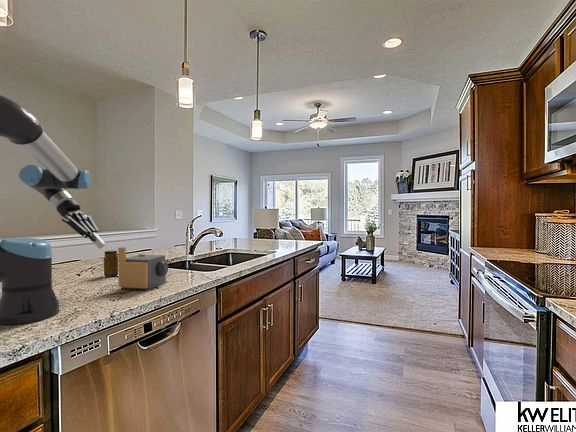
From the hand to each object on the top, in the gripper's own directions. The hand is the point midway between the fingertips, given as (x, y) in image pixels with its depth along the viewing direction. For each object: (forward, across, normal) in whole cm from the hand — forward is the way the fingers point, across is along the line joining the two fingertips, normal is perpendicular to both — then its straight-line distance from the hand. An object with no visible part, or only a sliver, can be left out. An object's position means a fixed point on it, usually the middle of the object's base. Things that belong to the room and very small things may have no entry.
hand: (102, 246), depth 128 cm
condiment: (+4, -22, -21) cm, 31 cm away
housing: (+22, -6, -2) cm, 23 cm away
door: (+21, +1, -1) cm, 21 cm away
